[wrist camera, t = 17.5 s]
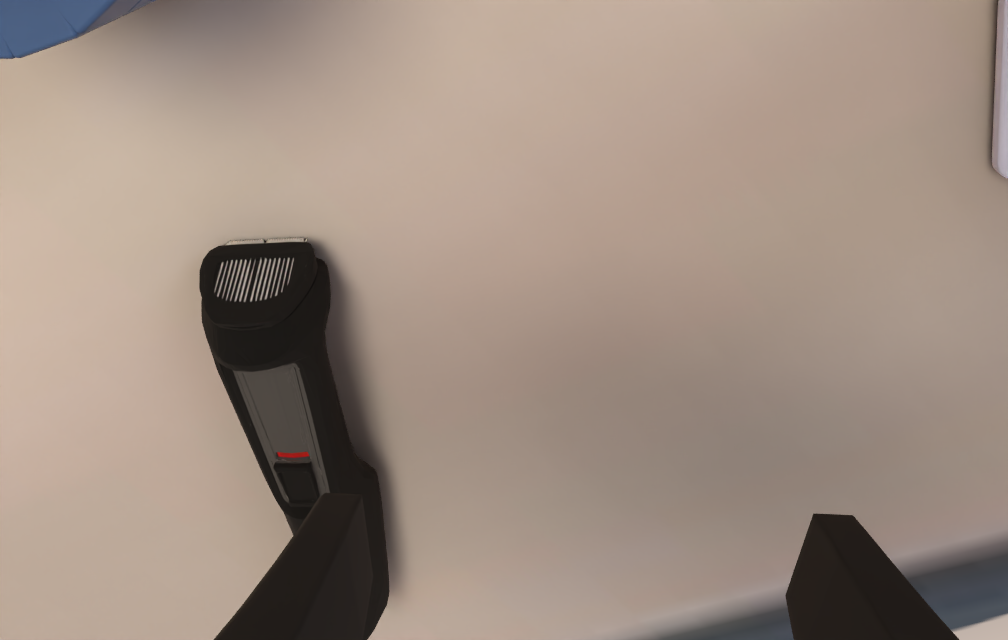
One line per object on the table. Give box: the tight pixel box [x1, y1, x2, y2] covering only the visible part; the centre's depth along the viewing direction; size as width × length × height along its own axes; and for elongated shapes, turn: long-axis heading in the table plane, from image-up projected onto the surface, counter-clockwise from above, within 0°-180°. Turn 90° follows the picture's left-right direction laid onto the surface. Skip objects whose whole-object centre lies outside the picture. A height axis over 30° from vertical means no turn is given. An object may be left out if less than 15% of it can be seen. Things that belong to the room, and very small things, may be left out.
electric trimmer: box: [200, 237, 389, 640], centre depth 25 cm, size 4×16×3 cm, turn 5°
